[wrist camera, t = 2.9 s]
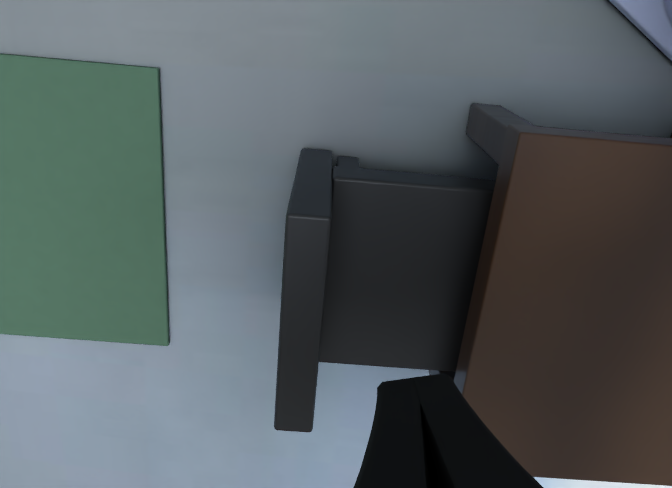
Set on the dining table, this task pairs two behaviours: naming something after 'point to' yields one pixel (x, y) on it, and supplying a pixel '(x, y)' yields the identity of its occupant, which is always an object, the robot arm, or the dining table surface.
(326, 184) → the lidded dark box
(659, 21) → the robot arm
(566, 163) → the table
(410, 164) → the dining table surface
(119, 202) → the mat
